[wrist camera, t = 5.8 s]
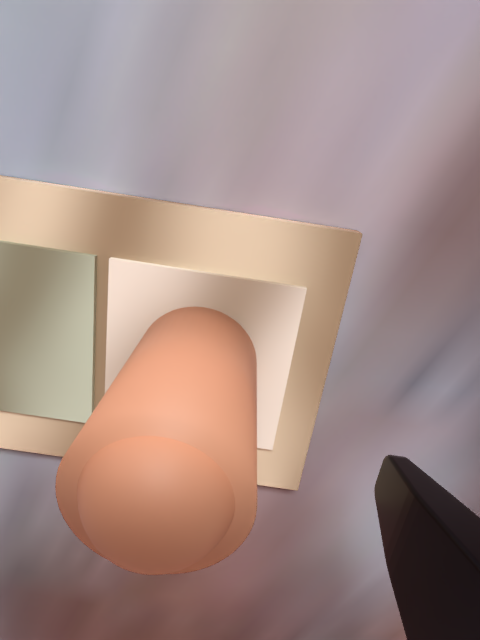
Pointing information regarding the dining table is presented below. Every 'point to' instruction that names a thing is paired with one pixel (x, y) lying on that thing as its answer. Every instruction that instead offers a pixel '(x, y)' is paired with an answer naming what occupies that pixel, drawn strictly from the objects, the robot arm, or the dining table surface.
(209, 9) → the dining table surface
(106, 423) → the peach rounded cylinder
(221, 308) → the board
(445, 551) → the robot arm
